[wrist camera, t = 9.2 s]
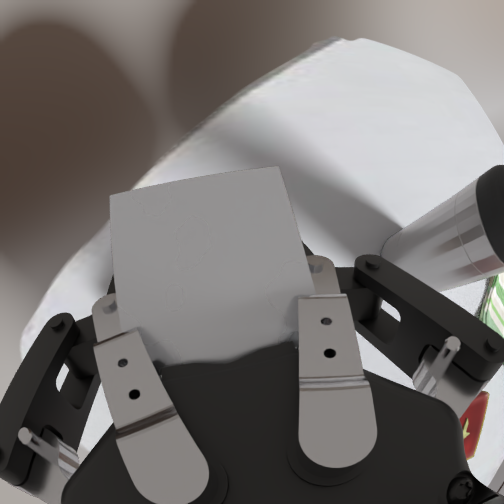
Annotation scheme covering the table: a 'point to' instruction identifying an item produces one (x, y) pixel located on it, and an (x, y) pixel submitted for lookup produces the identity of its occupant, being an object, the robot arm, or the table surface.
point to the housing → (209, 266)
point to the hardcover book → (474, 423)
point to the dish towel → (494, 305)
